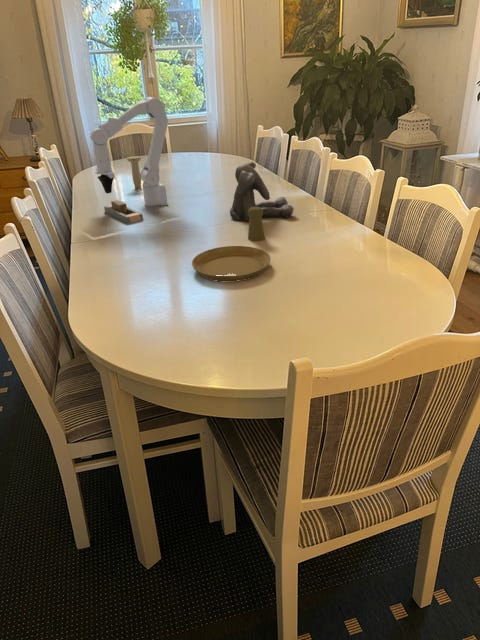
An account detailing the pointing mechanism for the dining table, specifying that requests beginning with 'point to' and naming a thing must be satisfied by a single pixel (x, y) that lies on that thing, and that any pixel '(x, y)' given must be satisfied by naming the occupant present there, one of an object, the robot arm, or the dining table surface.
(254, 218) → the cork
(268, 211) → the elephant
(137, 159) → the handle
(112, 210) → the rail
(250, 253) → the plant saucer
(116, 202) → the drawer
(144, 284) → the dining table surface
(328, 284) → the dining table surface
